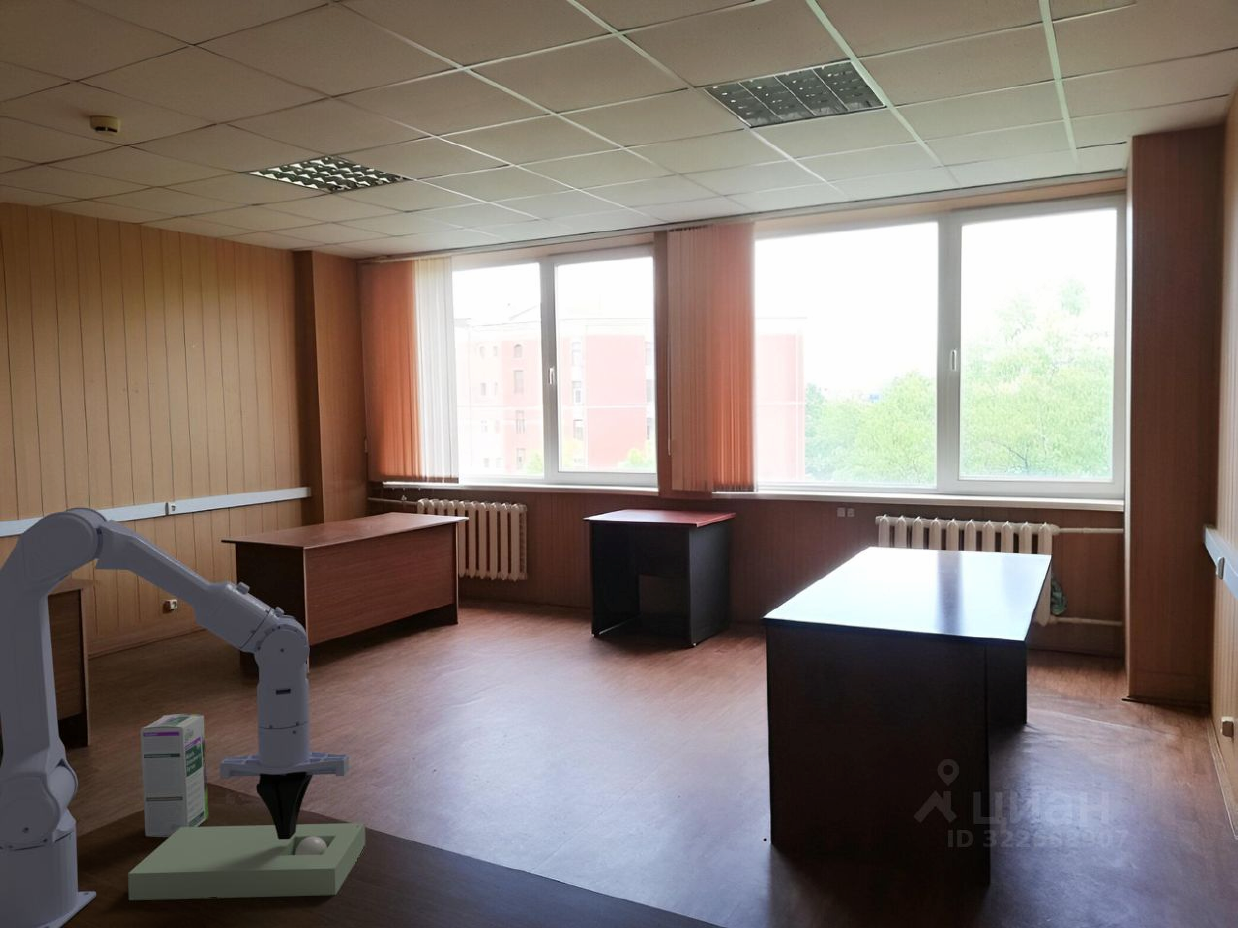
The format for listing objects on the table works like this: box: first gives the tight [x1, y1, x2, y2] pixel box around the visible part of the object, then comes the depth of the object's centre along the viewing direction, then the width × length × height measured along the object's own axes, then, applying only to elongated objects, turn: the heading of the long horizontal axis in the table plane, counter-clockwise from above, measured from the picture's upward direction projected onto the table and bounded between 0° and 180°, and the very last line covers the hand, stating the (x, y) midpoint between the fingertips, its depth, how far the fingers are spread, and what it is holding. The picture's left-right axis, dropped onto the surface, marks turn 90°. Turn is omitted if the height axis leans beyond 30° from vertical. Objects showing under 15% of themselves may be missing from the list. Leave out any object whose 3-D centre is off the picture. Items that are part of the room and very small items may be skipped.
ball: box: [295, 836, 327, 855], centre depth 104 cm, size 4×4×4 cm
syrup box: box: [140, 713, 209, 838], centre depth 117 cm, size 6×6×14 cm
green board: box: [127, 822, 366, 901], centre depth 104 cm, size 23×12×3 cm, turn 91°
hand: (286, 835), depth 104 cm, fingers closed
